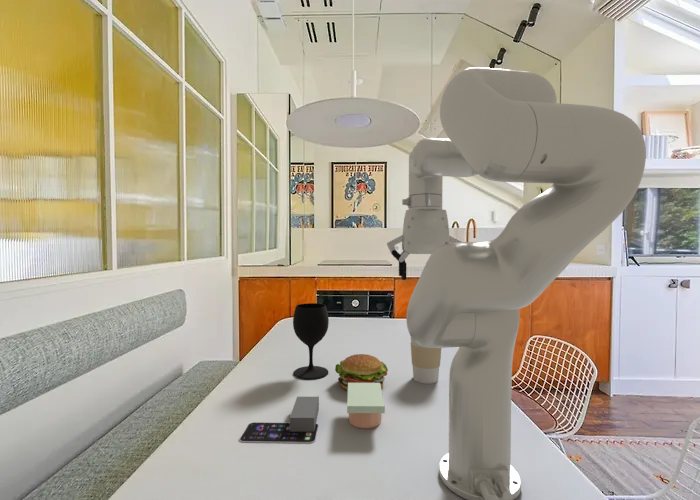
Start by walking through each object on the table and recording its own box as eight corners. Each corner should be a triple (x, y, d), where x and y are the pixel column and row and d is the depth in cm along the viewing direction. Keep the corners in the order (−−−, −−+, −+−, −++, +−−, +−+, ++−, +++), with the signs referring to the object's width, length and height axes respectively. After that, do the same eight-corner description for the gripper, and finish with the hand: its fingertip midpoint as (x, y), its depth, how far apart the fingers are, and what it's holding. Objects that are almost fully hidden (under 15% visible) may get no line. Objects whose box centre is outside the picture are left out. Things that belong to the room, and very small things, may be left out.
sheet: (384, 413, 72) (384, 406, 72) (347, 413, 72) (347, 406, 72) (380, 388, 84) (380, 382, 84) (347, 388, 84) (347, 382, 84)
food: (396, 381, 100) (397, 353, 100) (370, 400, 89) (371, 368, 88) (355, 371, 108) (355, 345, 108) (326, 387, 96) (326, 357, 96)
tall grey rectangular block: (314, 432, 73) (314, 417, 73) (289, 432, 73) (289, 417, 73) (318, 409, 83) (318, 396, 83) (297, 409, 83) (297, 396, 83)
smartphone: (314, 442, 69) (237, 441, 70) (314, 445, 69) (237, 444, 70) (319, 422, 77) (249, 422, 77) (319, 425, 77) (249, 424, 77)
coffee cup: (443, 386, 97) (443, 330, 97) (408, 383, 99) (409, 329, 98) (441, 374, 106) (441, 323, 105) (410, 372, 108) (410, 321, 107)
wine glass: (285, 375, 104) (285, 307, 104) (306, 365, 114) (306, 301, 113) (316, 382, 99) (316, 310, 99) (335, 370, 109) (335, 304, 108)
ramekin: (382, 428, 75) (382, 407, 75) (348, 428, 75) (348, 407, 75) (379, 412, 82) (380, 393, 82) (349, 412, 82) (349, 393, 82)
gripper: (389, 202, 78) (388, 281, 79) (468, 202, 78) (468, 281, 79) (385, 205, 86) (385, 277, 86) (458, 205, 86) (457, 277, 86)
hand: (424, 279), depth 82 cm, fingers open, 9 cm apart
